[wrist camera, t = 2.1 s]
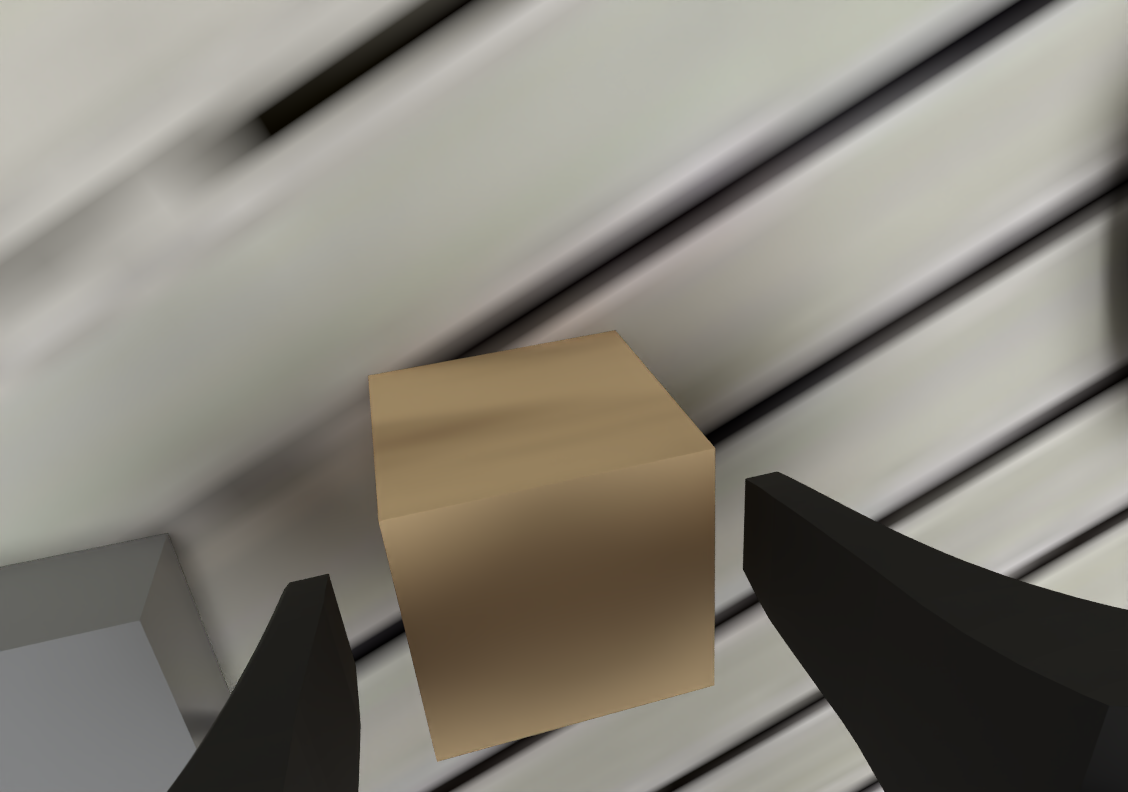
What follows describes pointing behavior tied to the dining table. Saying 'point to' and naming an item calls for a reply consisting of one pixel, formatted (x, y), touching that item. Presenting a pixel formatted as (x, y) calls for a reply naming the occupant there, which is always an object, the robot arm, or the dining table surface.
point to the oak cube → (544, 537)
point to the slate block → (103, 671)
